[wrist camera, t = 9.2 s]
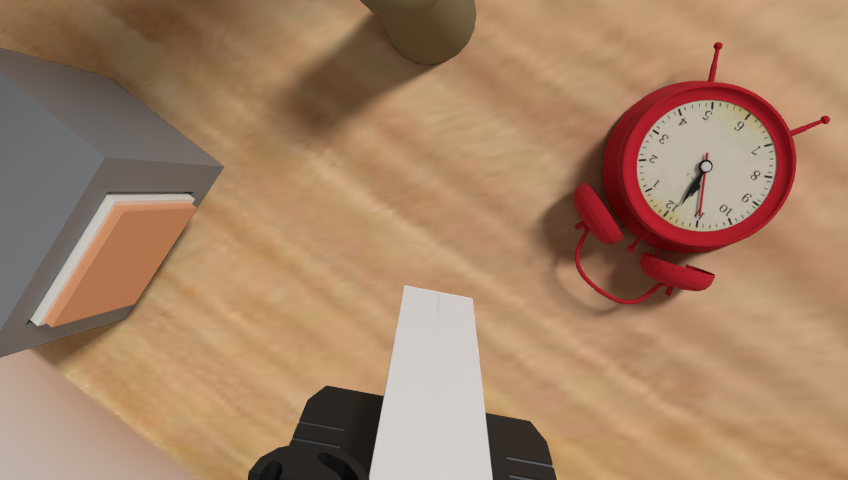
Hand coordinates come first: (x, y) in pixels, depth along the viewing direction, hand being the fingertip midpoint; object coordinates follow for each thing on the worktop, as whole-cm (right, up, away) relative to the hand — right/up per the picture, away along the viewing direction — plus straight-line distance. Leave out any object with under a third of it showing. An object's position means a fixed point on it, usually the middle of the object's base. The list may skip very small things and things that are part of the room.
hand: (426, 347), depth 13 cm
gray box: (-22, +5, +31) cm, 38 cm away
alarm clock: (+16, +6, +24) cm, 29 cm away
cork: (0, +17, +26) cm, 31 cm away
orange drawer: (-21, +4, +29) cm, 36 cm away
